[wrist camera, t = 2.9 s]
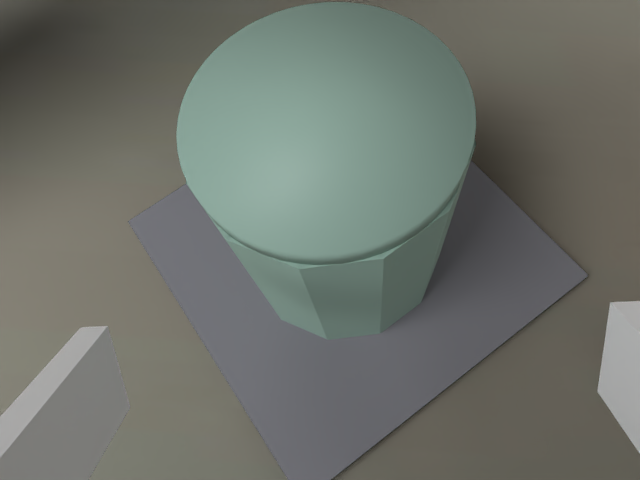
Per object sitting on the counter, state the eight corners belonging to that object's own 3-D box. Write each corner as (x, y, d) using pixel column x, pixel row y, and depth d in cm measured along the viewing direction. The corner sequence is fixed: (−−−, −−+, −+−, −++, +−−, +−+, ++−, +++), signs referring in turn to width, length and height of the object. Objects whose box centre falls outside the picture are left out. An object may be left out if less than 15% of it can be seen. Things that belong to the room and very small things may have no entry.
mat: (132, 225, 31) (127, 221, 30) (371, 69, 33) (371, 62, 33) (303, 501, 24) (302, 502, 24) (584, 279, 27) (588, 275, 26)
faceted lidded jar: (219, 232, 29) (126, 98, 18) (359, 137, 31) (351, -39, 20) (322, 377, 26) (282, 320, 15) (475, 262, 27) (544, 131, 16)
